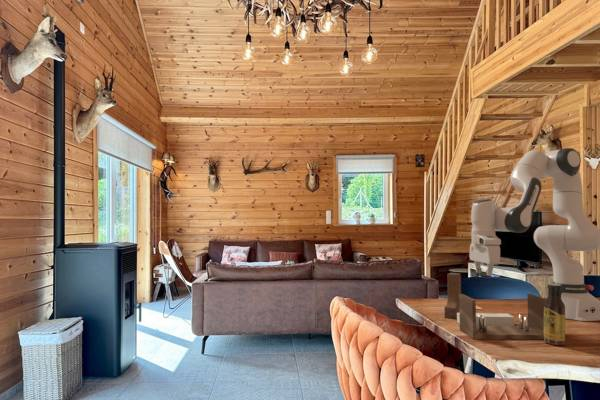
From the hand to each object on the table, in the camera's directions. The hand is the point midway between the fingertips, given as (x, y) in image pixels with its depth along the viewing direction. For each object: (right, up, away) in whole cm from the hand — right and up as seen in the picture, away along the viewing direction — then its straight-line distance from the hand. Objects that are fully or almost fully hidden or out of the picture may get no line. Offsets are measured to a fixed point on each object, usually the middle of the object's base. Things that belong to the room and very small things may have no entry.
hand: (483, 274), depth 168 cm
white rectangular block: (0, -20, -1) cm, 20 cm away
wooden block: (-8, -21, +12) cm, 25 cm away
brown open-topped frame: (0, -19, -16) cm, 25 cm away
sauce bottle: (+12, -19, -27) cm, 35 cm away
